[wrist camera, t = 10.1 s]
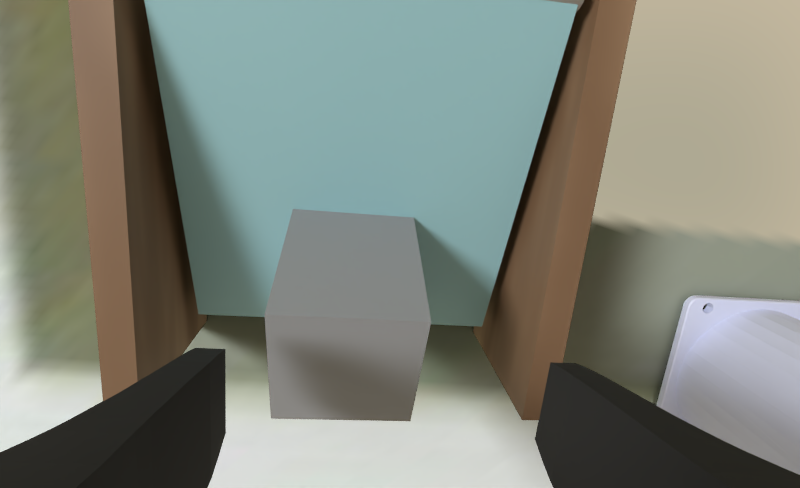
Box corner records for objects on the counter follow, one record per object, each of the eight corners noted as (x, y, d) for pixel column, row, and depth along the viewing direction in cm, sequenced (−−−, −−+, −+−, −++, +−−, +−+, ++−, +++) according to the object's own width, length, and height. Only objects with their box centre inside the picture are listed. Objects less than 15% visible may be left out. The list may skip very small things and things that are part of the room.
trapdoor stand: (545, 7, 18) (647, -53, 12) (493, 332, 21) (550, 420, 15) (170, -41, 16) (55, -142, 10) (182, 319, 20) (103, 412, 14)
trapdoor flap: (592, -226, 12) (671, -283, 9) (467, 271, 21) (484, 328, 18) (152, -312, 11) (64, -411, 8) (221, 256, 20) (195, 316, 17)
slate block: (413, 217, 15) (431, 321, 11) (399, 306, 18) (410, 421, 13) (292, 208, 15) (264, 314, 11) (294, 301, 17) (271, 418, 13)
